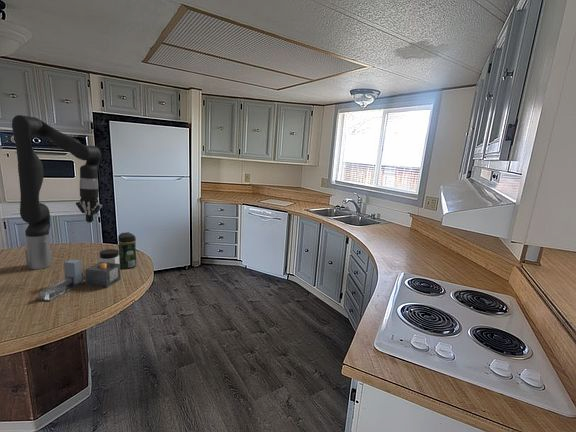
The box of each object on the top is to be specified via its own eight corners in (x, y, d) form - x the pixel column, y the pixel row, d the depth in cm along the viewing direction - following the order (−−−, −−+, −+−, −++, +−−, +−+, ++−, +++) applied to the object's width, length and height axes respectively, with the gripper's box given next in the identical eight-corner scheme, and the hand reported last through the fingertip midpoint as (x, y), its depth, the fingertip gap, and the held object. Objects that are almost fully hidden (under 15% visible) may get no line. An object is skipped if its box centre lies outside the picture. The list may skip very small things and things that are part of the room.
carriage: (65, 283, 137) (63, 262, 135) (72, 280, 141) (70, 259, 139) (75, 284, 136) (74, 263, 134) (82, 281, 140) (81, 260, 138)
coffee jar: (117, 264, 165) (116, 232, 162) (133, 262, 171) (132, 230, 167) (122, 270, 158) (121, 236, 155) (138, 267, 164) (137, 234, 160)
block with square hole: (86, 285, 138) (85, 269, 137) (101, 277, 148) (100, 262, 146) (107, 287, 138) (106, 271, 136) (120, 279, 147) (120, 264, 146)
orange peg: (99, 280, 141) (98, 264, 140) (103, 278, 144) (102, 262, 142) (104, 281, 141) (103, 265, 140) (108, 279, 144) (107, 263, 142)
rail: (36, 299, 123) (35, 290, 122) (75, 279, 143) (75, 271, 142) (49, 301, 122) (48, 292, 121) (87, 281, 143) (86, 273, 142)
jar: (99, 278, 147) (98, 254, 145) (99, 272, 154) (98, 250, 151) (120, 275, 152) (119, 252, 150) (119, 269, 159) (118, 248, 156)
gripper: (107, 188, 147) (107, 222, 150) (82, 185, 148) (83, 219, 151) (96, 189, 140) (96, 225, 143) (70, 186, 141) (71, 221, 144)
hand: (89, 222), depth 147 cm, fingers closed
